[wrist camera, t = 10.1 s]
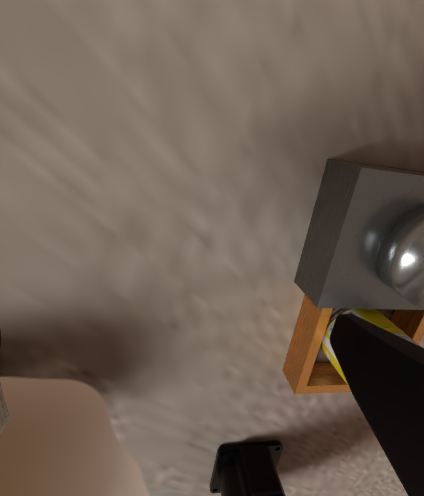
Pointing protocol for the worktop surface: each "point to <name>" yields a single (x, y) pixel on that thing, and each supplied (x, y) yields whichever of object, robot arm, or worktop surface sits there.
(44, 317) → the worktop surface
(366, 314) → the supplement bottle
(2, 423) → the supplement box
